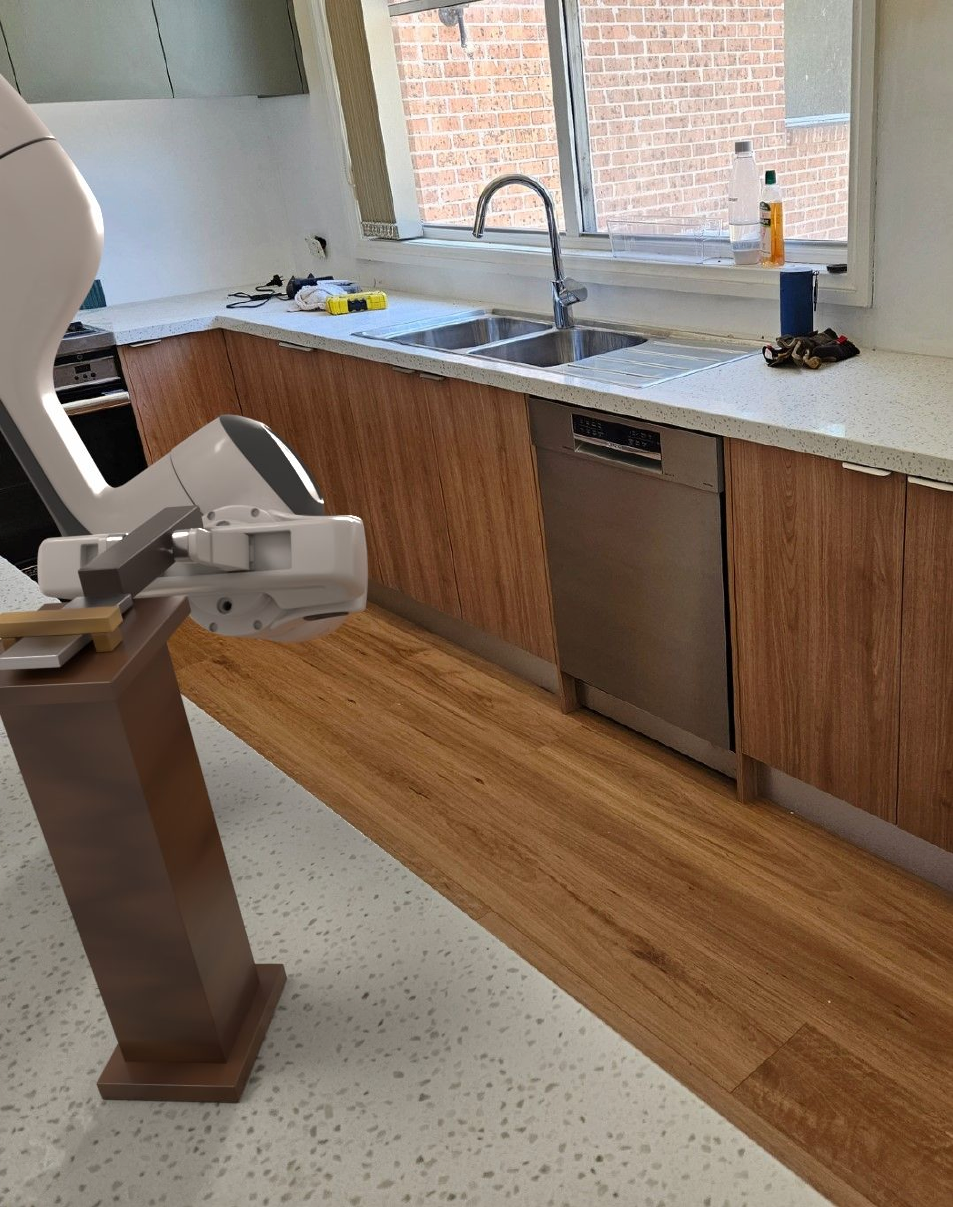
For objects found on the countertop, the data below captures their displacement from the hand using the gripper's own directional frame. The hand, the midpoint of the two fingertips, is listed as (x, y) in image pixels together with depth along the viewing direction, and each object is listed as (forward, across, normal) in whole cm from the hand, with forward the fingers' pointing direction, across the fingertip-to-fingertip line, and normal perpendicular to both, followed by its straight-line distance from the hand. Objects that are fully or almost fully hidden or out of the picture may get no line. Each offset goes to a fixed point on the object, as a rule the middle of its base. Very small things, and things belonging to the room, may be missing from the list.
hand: (146, 546), depth 59 cm
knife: (+2, 0, +2) cm, 3 cm away
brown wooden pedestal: (-6, 0, +28) cm, 29 cm away
